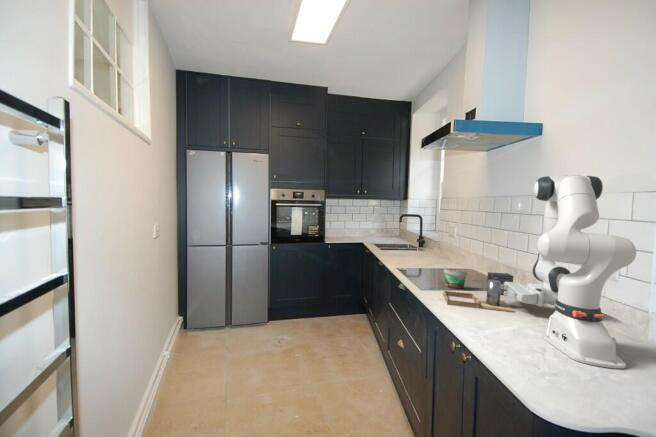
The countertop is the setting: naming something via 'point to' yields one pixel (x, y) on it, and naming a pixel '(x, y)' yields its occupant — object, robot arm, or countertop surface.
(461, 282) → the food container
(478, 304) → the wooden tray board
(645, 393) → the countertop surface
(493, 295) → the slate tin
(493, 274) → the small box
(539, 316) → the countertop surface
